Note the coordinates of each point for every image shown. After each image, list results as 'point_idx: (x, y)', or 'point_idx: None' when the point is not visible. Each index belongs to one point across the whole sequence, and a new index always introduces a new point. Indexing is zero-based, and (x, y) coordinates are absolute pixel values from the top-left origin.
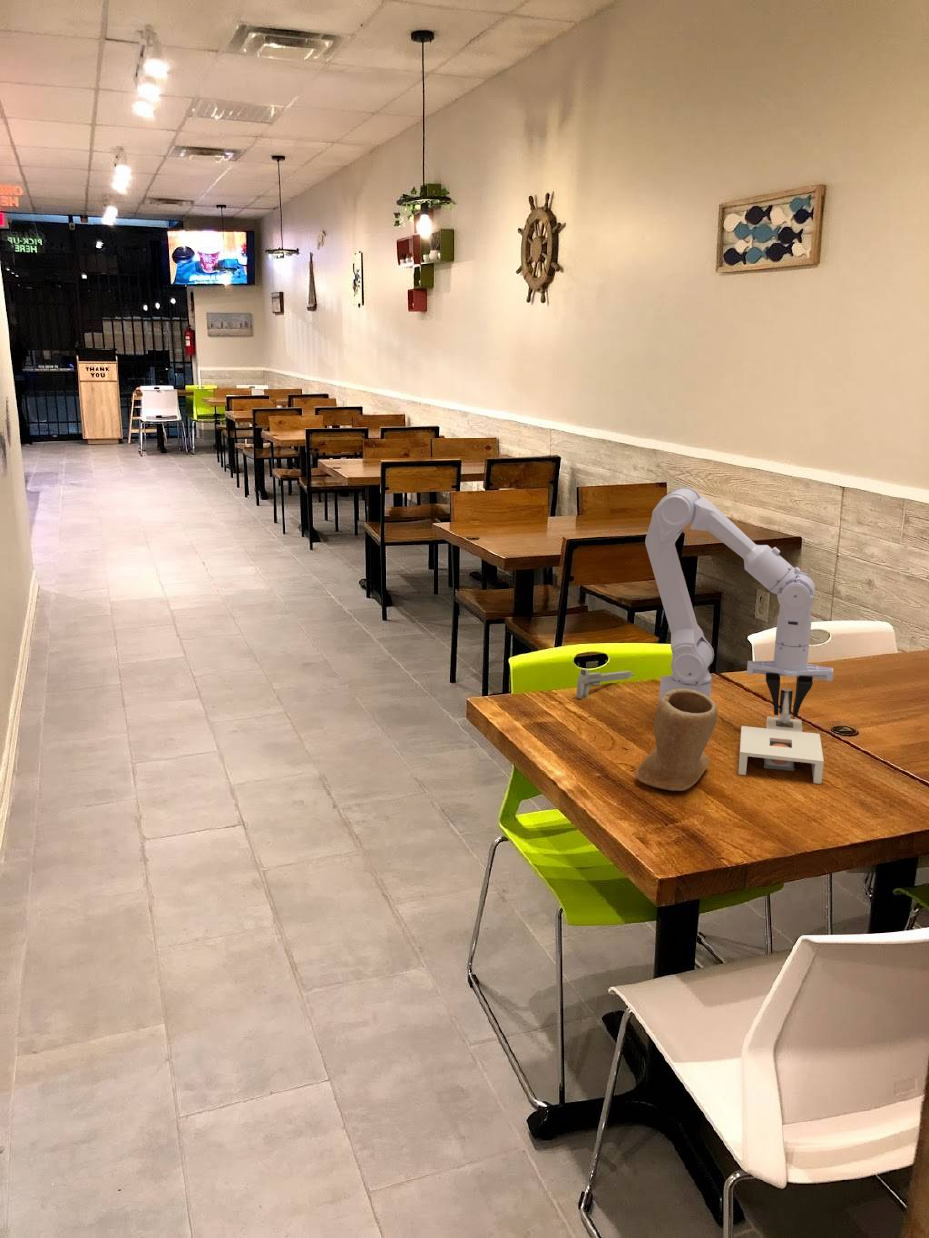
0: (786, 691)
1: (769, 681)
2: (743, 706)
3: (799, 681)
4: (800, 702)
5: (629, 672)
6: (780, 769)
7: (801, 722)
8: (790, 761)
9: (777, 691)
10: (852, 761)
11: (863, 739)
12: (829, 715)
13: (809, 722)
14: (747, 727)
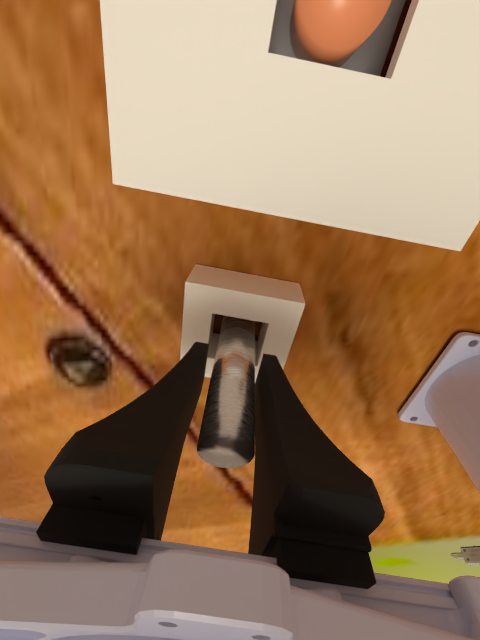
0: (229, 443)
1: (371, 501)
2: None
3: (142, 494)
4: (170, 376)
5: (471, 561)
6: None
7: (180, 354)
8: (273, 24)
9: (289, 432)
10: (29, 127)
11: (27, 316)
12: None
13: None
14: (442, 231)
